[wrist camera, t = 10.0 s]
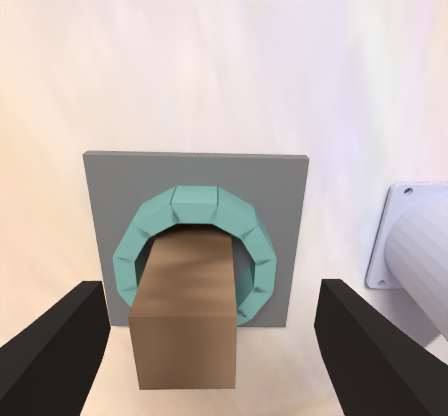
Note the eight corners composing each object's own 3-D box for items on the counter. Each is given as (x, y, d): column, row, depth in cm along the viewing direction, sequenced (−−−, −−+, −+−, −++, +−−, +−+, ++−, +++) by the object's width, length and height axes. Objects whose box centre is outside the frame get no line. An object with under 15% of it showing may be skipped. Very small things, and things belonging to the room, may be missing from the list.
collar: (305, 155, 19) (321, 172, 16) (283, 319, 25) (292, 355, 22) (87, 150, 19) (62, 167, 16) (114, 317, 24) (99, 353, 21)
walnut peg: (230, 223, 20) (236, 315, 13) (229, 280, 22) (235, 388, 15) (160, 224, 20) (127, 316, 13) (165, 280, 22) (139, 389, 15)
